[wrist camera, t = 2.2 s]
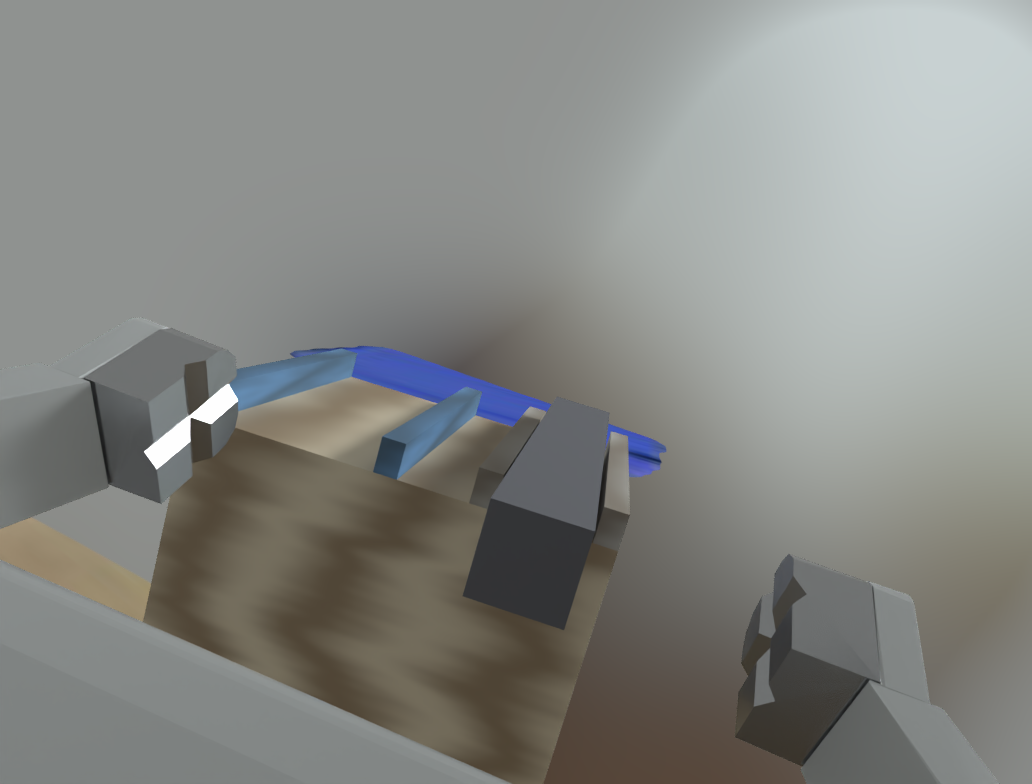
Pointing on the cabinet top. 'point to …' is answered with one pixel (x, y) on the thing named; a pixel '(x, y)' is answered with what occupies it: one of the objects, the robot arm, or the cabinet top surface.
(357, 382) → the riser
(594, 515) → the dark grey piece
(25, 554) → the cabinet top surface
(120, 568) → the cabinet top surface
